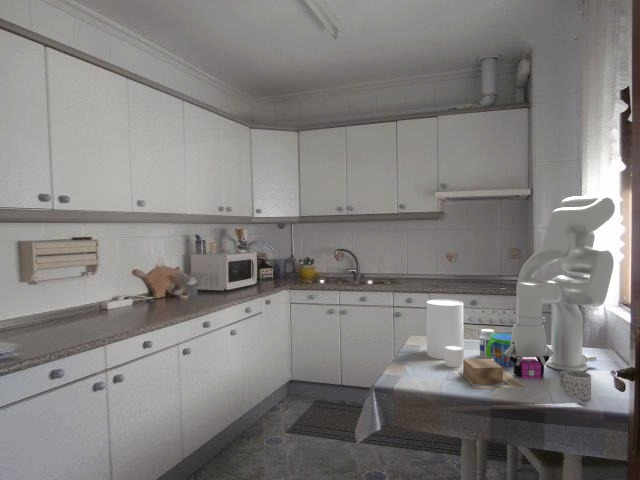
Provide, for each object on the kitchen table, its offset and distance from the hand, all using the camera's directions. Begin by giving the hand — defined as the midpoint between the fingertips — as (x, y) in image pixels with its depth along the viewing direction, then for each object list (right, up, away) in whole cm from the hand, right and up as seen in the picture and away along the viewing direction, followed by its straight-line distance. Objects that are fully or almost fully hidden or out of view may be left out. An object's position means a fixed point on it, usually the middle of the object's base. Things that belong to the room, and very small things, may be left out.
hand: (528, 375), depth 147 cm
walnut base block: (-16, 0, -3) cm, 16 cm away
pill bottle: (-4, 0, +25) cm, 25 cm away
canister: (-19, 0, +28) cm, 34 cm away
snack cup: (-2, -1, +14) cm, 14 cm away
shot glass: (-21, -1, +12) cm, 24 cm away
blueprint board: (-14, -1, -2) cm, 14 cm away
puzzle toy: (0, -1, 0) cm, 1 cm away
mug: (+7, -2, -14) cm, 15 cm away
